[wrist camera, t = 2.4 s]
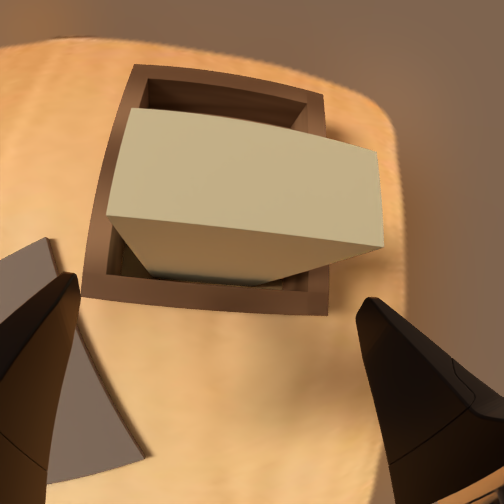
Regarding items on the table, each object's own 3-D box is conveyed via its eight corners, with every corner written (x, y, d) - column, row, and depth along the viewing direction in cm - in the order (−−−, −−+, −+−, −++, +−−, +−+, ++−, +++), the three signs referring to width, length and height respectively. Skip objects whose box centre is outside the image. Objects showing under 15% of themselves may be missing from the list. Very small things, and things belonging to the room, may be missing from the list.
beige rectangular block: (251, 286, 19) (384, 247, 7) (153, 278, 18) (106, 215, 5) (253, 247, 20) (376, 151, 7) (157, 237, 18) (131, 107, 6)
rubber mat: (145, 455, 16) (144, 459, 15) (-5, 488, 11) (-7, 491, 11) (48, 238, 17) (45, 236, 16) (-82, 312, 12) (-85, 312, 12)
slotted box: (299, 314, 20) (327, 315, 16) (99, 299, 17) (80, 296, 13) (301, 124, 22) (323, 94, 18) (137, 100, 20) (134, 64, 16)
